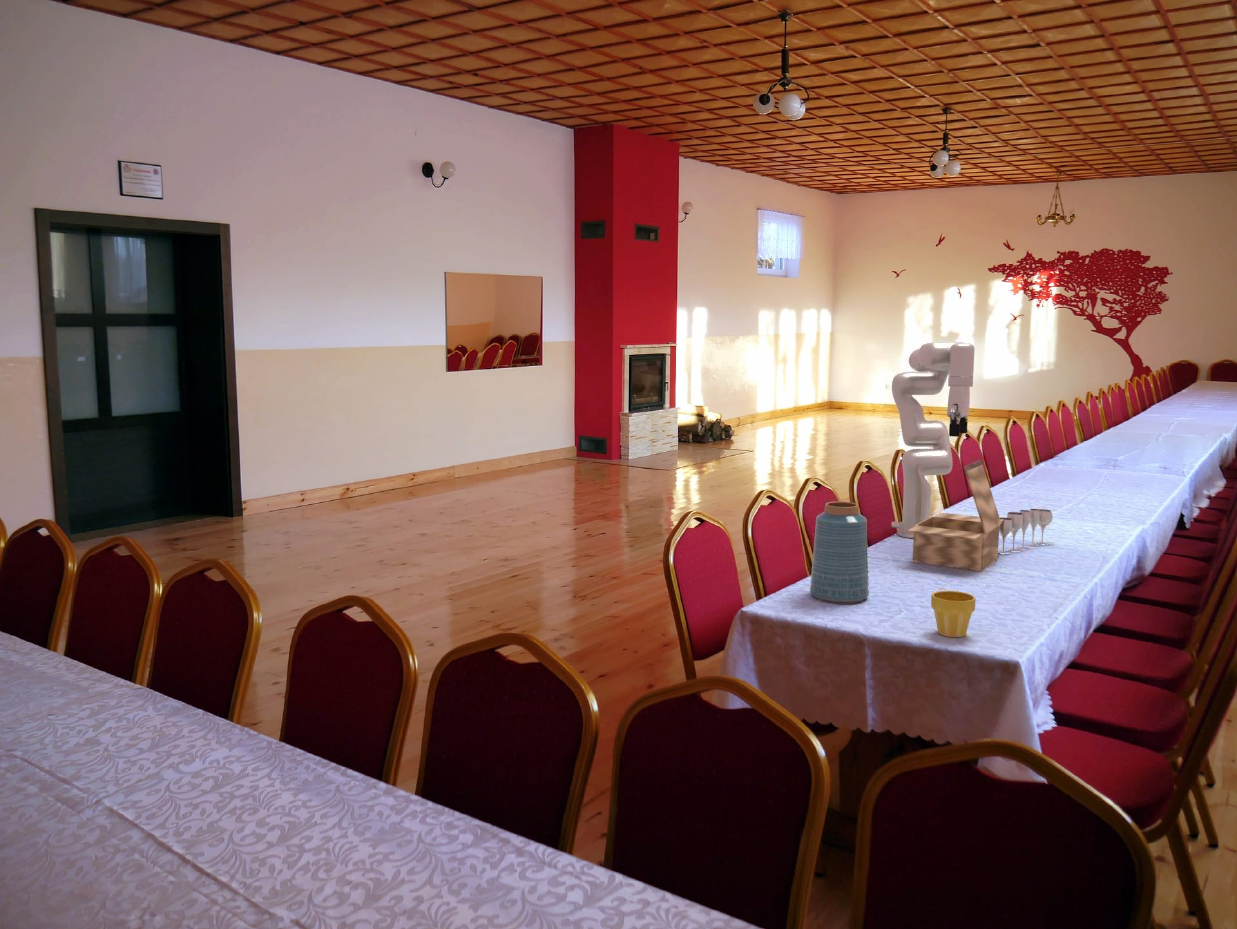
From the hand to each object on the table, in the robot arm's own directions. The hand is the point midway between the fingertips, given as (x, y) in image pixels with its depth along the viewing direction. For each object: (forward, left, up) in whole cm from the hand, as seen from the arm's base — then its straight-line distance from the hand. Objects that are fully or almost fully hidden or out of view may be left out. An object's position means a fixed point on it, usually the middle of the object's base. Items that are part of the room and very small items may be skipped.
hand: (958, 434), depth 314 cm
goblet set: (+16, +25, -41) cm, 51 cm away
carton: (+2, -5, -41) cm, 41 cm away
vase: (-13, -65, -41) cm, 78 cm away
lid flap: (+10, -5, -18) cm, 21 cm away
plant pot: (+23, -80, -41) cm, 93 cm away
